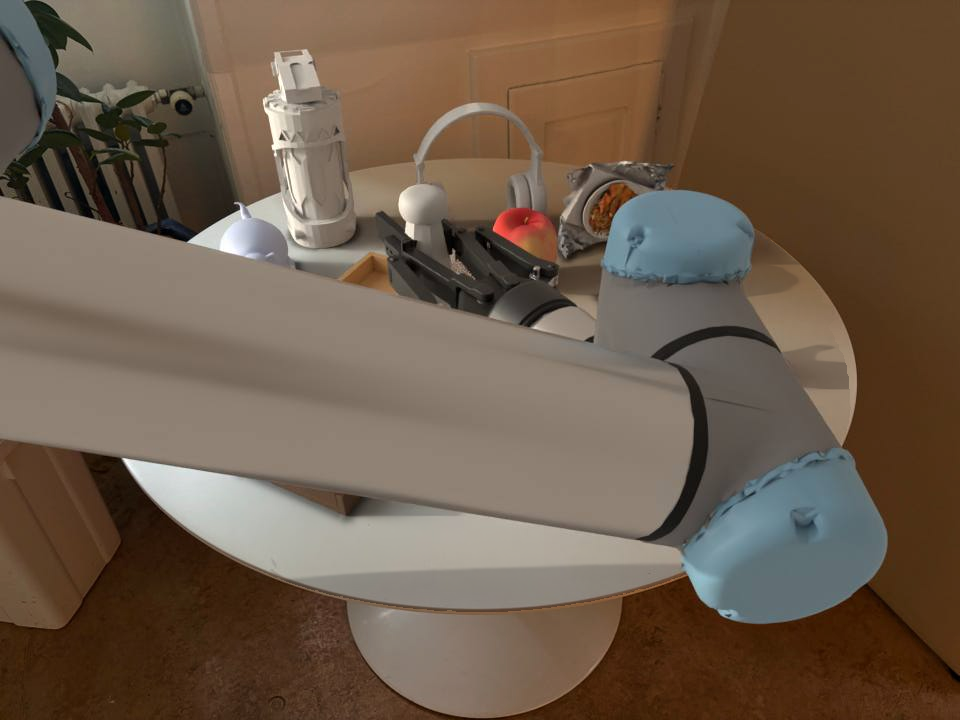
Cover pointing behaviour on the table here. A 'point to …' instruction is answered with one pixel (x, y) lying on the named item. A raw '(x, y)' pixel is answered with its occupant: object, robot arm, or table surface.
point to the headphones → (520, 187)
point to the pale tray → (370, 273)
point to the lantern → (310, 153)
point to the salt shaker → (426, 222)
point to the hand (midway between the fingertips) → (397, 219)
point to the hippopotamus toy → (256, 240)
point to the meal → (603, 199)
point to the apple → (529, 232)
